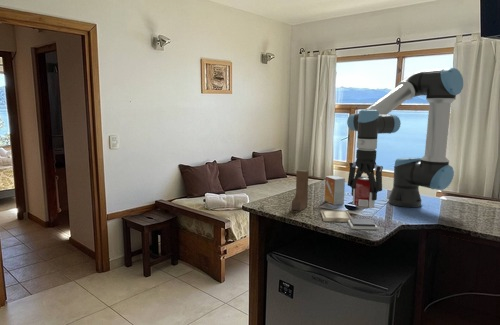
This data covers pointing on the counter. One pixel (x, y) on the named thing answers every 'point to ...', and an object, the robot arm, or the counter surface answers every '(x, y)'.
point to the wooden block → (301, 191)
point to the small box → (334, 189)
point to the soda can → (362, 192)
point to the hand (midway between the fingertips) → (363, 205)
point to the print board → (335, 215)
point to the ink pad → (362, 224)
